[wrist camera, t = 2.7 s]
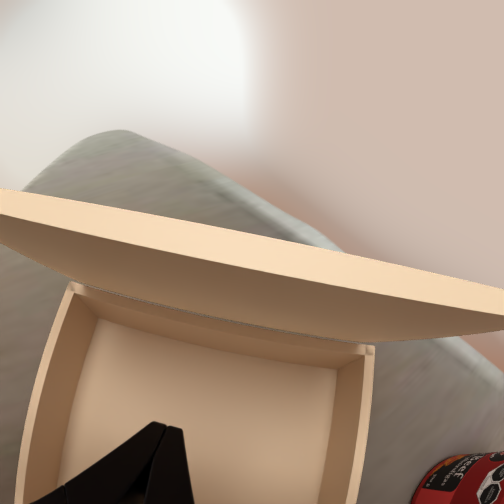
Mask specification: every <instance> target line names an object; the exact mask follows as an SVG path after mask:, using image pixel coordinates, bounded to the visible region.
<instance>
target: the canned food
mask: <svg viewBox="0 0 504 504" xmlns="http://www.w3.org/2000/svg"><path fill="white" fill-rule="evenodd" d="M411 504H504V451H502V452H492V453H481V454H465V455H457V456H453V457H451V458H449V459H447V460H445V461H443V462H441V463H439V464H438V465H437V466H435V467H434V468H433V469H432V470H431V471H430V472H429V473H428V474H427V475H426V477H425V478H424V479H423V480H422V482H421V483H420V485H419V487H418V488H417V490H416V492H415V494H414V496H413V499H412V502H411Z"/></svg>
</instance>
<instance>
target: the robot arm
mask: <svg viewBox="0 0 504 504" xmlns="http://www.w3.org/2000/svg"><path fill="white" fill-rule="evenodd" d="M29 504H195V501H194V496H193V490H192V485H191V479H190V473H189V467H188V461H187V454H186V448H185V441H184V433H183V429H182V428H178V427H174V426H170V425H169V426H168V427H167V425H166V424H163V423H160V422H156V421H152V422H150V423H149V424H148V425H146V426H145V427H144V428H142V429H141V430H140V431H138V432H137V433H136V434H134V435H133V436H132V437H130V438H129V439H128V440H126V441H125V442H124V443H122V444H121V445H120V446H118V447H117V448H115V449H114V450H113V451H111V452H110V453H108V454H107V455H106V456H104V457H103V458H101V459H100V460H98V461H97V462H96V463H94V464H93V465H91V466H90V467H88V468H87V469H85V470H84V471H83V472H81V473H80V474H78V475H77V476H75V477H74V478H72V479H71V480H69V481H68V482H66V483H65V484H64V485H61V486H60V487H58V488H57V489H55V490H53V491H52V492H50V493H48V494H47V495H45V496H43V497H41V498H40V499H38V500H36V501H33V502H31V503H29Z"/></svg>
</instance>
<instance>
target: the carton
mask: <svg viewBox="0 0 504 504" xmlns="http://www.w3.org/2000/svg"><path fill="white" fill-rule="evenodd" d="M374 356H375V346H370V345H362V344H355V343H347V342H340V341H333V340H327V339H320V338H314V337H308V336H301V335H296V334H290V333H284V332H278V331H273V330H267V329H262V328H257V327H252V326H247V325H242V324H237V323H232V322H227V321H222V320H217V319H213V318H208V317H204V316H199V315H195V314H191V313H186V312H182V311H178V310H174V309H169V308H165V307H161V306H157V305H153V304H149V303H146V302H142V301H138V300H134V299H130V298H127V297H123V296H119V295H116V294H112V293H109V292H105V291H102V290H98V289H95V288H91V287H88V286H85V285H81V284H78V283H75V282H71V281H70V282H69V284H68V287H67V289H66V292H65V294H64V297H63V299H62V302H61V304H60V307H59V310H58V312H57V315H56V318H55V320H54V323H53V326H52V329H51V332H50V335H49V338H48V341H47V344H46V347H45V350H44V353H43V356H42V360H41V363H40V366H39V370H38V373H37V377H36V380H35V384H34V388H33V392H32V396H31V400H30V404H29V409H28V413H27V418H26V422H25V427H24V433H23V438H22V444H21V450H20V456H19V463H18V471H17V480H16V491H15V504H29V503H31V502H33V501H36V500H38V499H40V498H41V497H43V496H45V495H47V494H48V493H50V492H52V491H53V490H55V489H57V488H58V487H60V486H61V485H64V484H65V483H66V482H68V481H69V480H71V479H72V478H74V477H75V476H77V475H78V474H80V473H81V472H83V471H84V470H85V469H87V468H88V467H90V466H91V465H93V464H94V463H96V462H97V461H98V460H100V459H101V458H103V457H104V456H106V455H107V454H108V453H110V452H111V451H113V450H114V449H115V448H117V447H118V446H120V445H121V444H122V443H124V442H125V441H126V440H128V439H129V438H130V437H132V436H133V435H134V434H136V433H137V432H138V431H140V430H141V429H142V428H144V427H145V426H146V425H148V424H149V423H150V422H152V421H156V422H160V423H163V424H166V425H167V427H168V426H169V425H170V426H174V427H178V428H182V429H183V433H184V441H185V448H186V454H187V461H188V467H189V473H190V479H191V485H192V490H193V496H194V501H195V504H356V500H357V495H358V490H359V485H360V480H361V474H362V469H363V463H364V456H365V450H366V443H367V435H368V427H369V419H370V409H371V399H372V387H373V374H374Z"/></svg>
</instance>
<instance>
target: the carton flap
mask: <svg viewBox="0 0 504 504" xmlns="http://www.w3.org/2000/svg"><path fill="white" fill-rule="evenodd" d="M0 243H2V244H3V245H5V246H7V247H9V248H11V249H13V250H15V251H17V252H19V253H20V254H22V255H24V256H26V257H28V258H30V259H32V260H34V261H36V262H38V263H40V264H42V265H44V266H46V267H49V268H51V269H53V270H55V271H57V272H59V273H61V274H63V275H65V276H68V277H70V278H72V279H74V280H76V281H79V282H81V283H84V284H87V285H91V286H94V287H97V288H101V289H104V290H108V291H112V292H115V293H119V294H122V295H126V296H130V297H134V298H137V299H141V300H145V301H149V302H153V303H157V304H161V305H165V306H169V307H173V308H177V309H182V310H186V311H190V312H195V313H199V314H203V315H208V316H213V317H217V318H222V319H227V320H231V321H236V322H241V323H246V324H251V325H256V326H262V327H267V328H272V329H278V330H283V331H289V332H295V333H301V334H307V335H313V336H319V337H326V338H332V339H339V340H346V341H353V342H361V343H364V342H388V341H405V340H419V339H432V338H443V337H453V336H462V335H471V334H478V333H486V332H494V331H500V330H504V289H500V288H495V287H491V286H487V285H483V284H479V283H475V282H470V281H466V280H462V279H458V278H453V277H448V276H445V275H440V274H436V273H432V272H427V271H423V270H418V269H414V268H409V267H405V266H401V265H396V264H391V263H387V262H382V261H378V260H373V259H369V258H364V257H359V256H355V255H351V254H346V253H341V252H337V251H332V250H327V249H322V248H318V247H313V246H308V245H303V244H299V243H294V242H289V241H284V240H279V239H274V238H269V237H265V236H260V235H255V234H250V233H245V232H240V231H235V230H230V229H225V228H219V227H214V226H209V225H204V224H199V223H194V222H189V221H183V220H178V219H173V218H168V217H162V216H157V215H152V214H146V213H141V212H135V211H130V210H125V209H119V208H114V207H108V206H102V205H97V204H91V203H86V202H80V201H74V200H68V199H63V198H57V197H51V196H45V195H39V194H33V193H27V192H21V191H15V190H8V189H2V188H0Z"/></svg>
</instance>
